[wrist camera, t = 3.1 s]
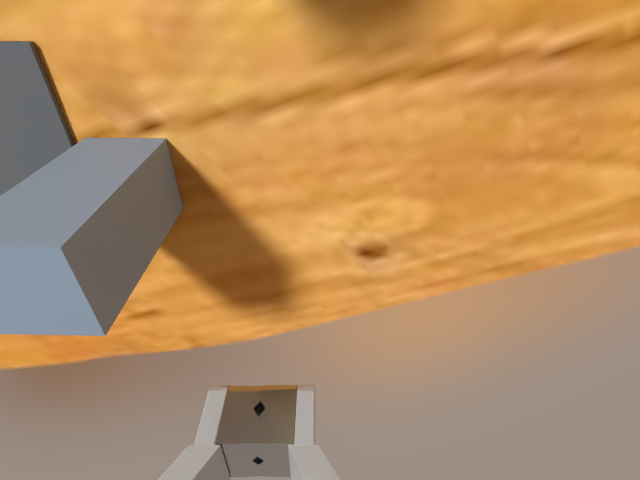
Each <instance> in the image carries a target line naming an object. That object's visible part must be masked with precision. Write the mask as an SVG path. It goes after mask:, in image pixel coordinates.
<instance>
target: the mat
mask: <svg viewBox="0 0 640 480" xmlns="http://www.w3.org/2000/svg"><path fill="white" fill-rule="evenodd" d="M73 146H74V142H73V140H72V137H71V135H70V132H69V130H68V127H67V125H66V122H65V120H64V117H63V115H62V112H61V110H60V107H59V105H58V102H57V100H56V97H55V95H54V92H53V90H52V87H51V85H50V82H49V80H48V77H47V75H46V72H45V70H44V68H43V65H42V63H41V60H40V58H39V55H38V53H37V50H36V48H35V45H34V43H33V42H31V41H0V196H1V195H3V194H4V193H5V192H7V191H8V190H10V189H11V188H13V187H14V186H16V185H17V184H19V183H20V182H22V181H23V180H24V179H26V178H27V177H29V176H30V175H32V174H33V173H35V172H36V171H38V170H39V169H40V168H42V167H43V166H45V165H46V164H48V163H49V162H51V161H52V160H54V159H55V158H57V157H58V156H59V155H61V154H62V153H64V152H65V151H67V150H68V149H70V148H71V147H73Z"/></svg>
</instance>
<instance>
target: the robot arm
mask: <svg viewBox="0 0 640 480" xmlns="http://www.w3.org/2000/svg"><path fill="white" fill-rule="evenodd" d="M247 476H280V477H291V479H292V480H341V479H340V478H339V476H338V474H337V472H336V471H335V469H334V467H333V466H332V464H331V462H330V461H329V459H328V457H327V455H326V454H325V452H324V451H323V449H322V447H321V445H320V444H319V445H318V444H315V385H298V387H297V385H269V386H268V385H267V386H230V385H228V386H227V385H224V386H211V388H210V390H209V391H208V395H207V399H206V403H205V406H204V410H203V413H202V418H201V421H200V425H199V429H198V432H197V436H196V440H195V443H194V445H188V446H187V447H186V449H185V450H184V451H183V452H182V453H181V454H180V455H179V456H178V458H177V459H176V460H175V461H174V462H173V463H172V464H171V466H170V467H169V468H168V469H167V470H166V471H165V472H164V473H163V474H162V476H161V477H160V478H159V479H158V480H230V477H247Z"/></svg>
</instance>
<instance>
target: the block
mask: <svg viewBox="0 0 640 480" xmlns="http://www.w3.org/2000/svg"><path fill="white" fill-rule="evenodd" d="M182 210H183V205H182V201H181V197H180V193H179V189H178V185H177V181H176V177H175V173H174V169H173V165H172V161H171V156H170V152H169V148H168V144H167V140H166V139H163V138H84V139H83V140H81V141H80V142H78V143H77V144H75V145H74V146H73V147H71V148H70V149H68V150H67V151H65V152H64V153H62V154H61V155H59V156H58V157H57V158H55V159H54V160H52V161H51V162H49V163H48V164H46V165H45V166H43V167H42V168H40V169H39V170H38V171H36V172H35V173H33V174H32V175H30V176H29V177H27V178H26V179H24V180H23V181H22V182H20V183H19V184H17V185H16V186H14V187H13V188H11V189H10V190H8V191H7V192H5V193H4V194H3V195H1V196H0V334H34V335H90V336H106V334H107V332H108V331H109V329H110V327H111V326H112V324H113V322H114V321H115V319H116V318H117V316H118V314H119V313H120V311H121V309H122V308H123V306H124V305H125V303H126V301H127V300H128V298H129V296H130V295H131V293H132V291H133V290H134V288H135V287H136V285H137V283H138V282H139V280H140V278H141V277H142V275H143V273H144V272H145V270H146V269H147V267H148V265H149V264H150V262H151V260H152V259H153V257H154V255H155V254H156V252H157V251H158V249H159V247H160V246H161V244H162V242H163V241H164V239H165V237H166V236H167V234H168V233H169V231H170V229H171V228H172V226H173V224H174V223H175V221H176V219H177V218H178V216H179V215H180V213H181V211H182Z"/></svg>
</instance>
